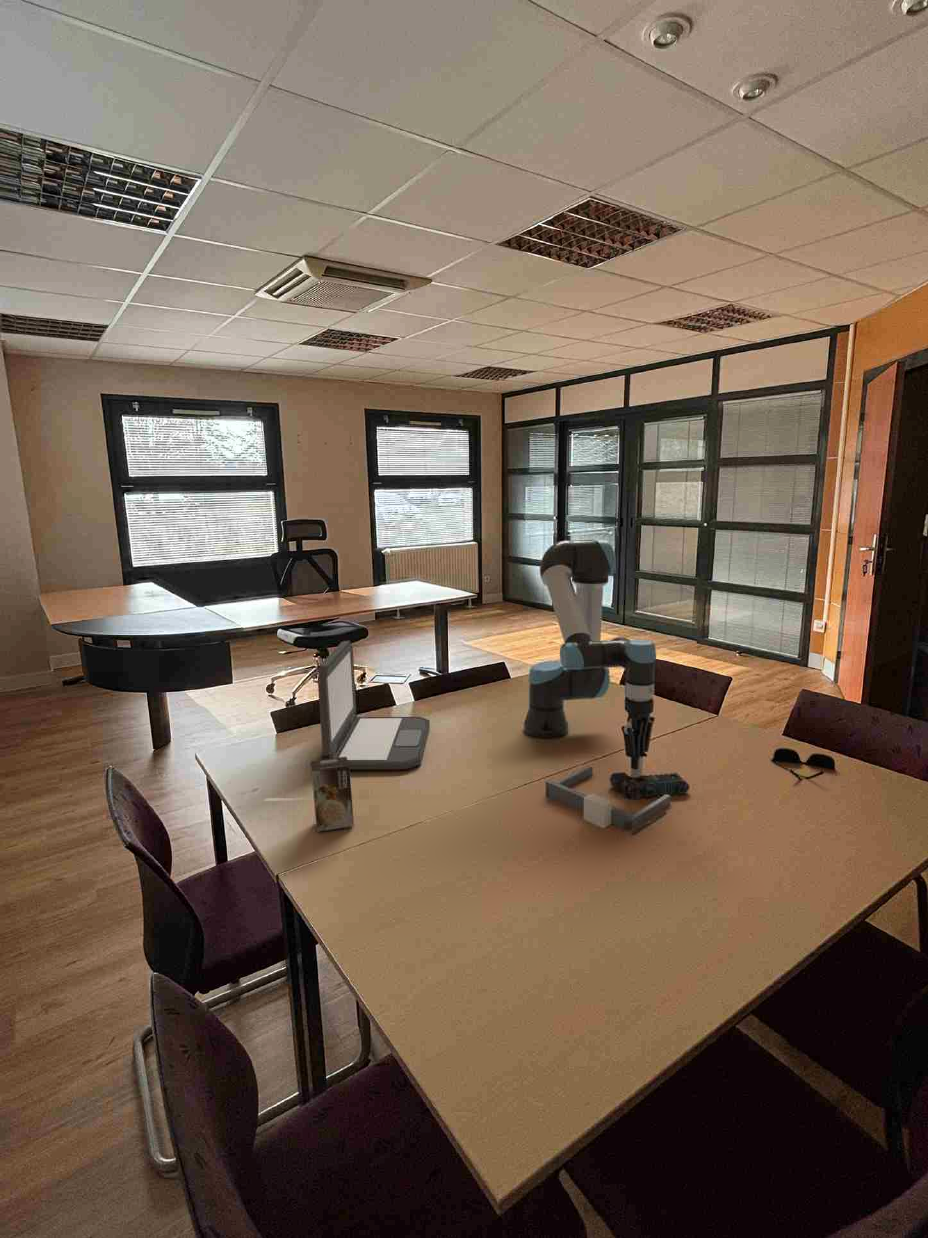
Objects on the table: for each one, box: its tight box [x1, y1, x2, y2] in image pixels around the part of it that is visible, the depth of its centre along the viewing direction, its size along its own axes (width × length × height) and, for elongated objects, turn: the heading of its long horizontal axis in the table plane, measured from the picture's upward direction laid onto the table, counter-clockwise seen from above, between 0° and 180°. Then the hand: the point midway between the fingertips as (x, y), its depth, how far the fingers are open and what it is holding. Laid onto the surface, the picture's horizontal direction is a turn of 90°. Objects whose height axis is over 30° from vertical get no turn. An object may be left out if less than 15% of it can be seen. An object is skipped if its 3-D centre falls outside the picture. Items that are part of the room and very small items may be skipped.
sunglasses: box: [770, 747, 837, 780], centre depth 177 cm, size 17×14×5 cm
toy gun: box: [609, 772, 690, 800], centre depth 170 cm, size 4×19×10 cm
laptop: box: [317, 640, 431, 770], centre depth 201 cm, size 38×31×32 cm
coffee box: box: [310, 757, 355, 832], centre depth 155 cm, size 9×6×16 cm
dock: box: [545, 764, 671, 836], centre depth 163 cm, size 28×22×6 cm
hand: (636, 778), depth 174 cm, fingers closed
